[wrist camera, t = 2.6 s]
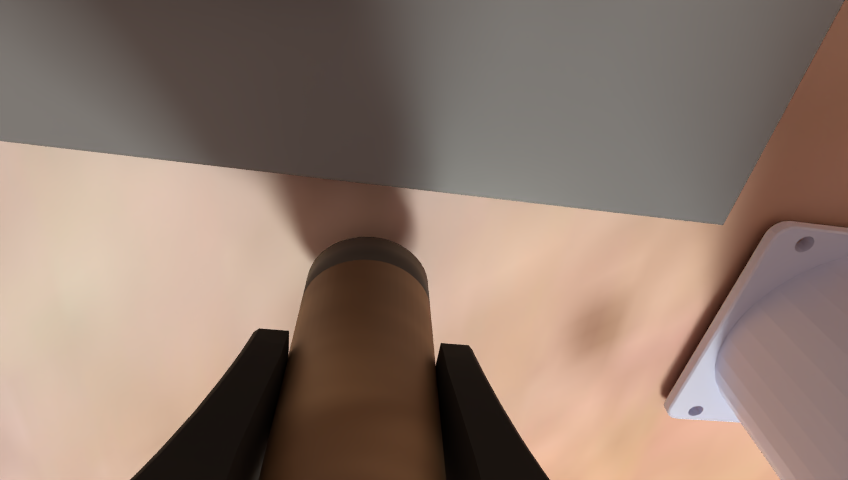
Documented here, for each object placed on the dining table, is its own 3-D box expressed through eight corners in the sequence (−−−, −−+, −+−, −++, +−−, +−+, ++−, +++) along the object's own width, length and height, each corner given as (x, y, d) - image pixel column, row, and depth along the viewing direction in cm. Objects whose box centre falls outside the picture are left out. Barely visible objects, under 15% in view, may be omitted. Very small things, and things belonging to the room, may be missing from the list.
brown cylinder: (437, 243, 13) (500, 713, 5) (418, 337, 15) (445, 795, 7) (309, 230, 12) (175, 716, 5) (304, 327, 14) (200, 803, 7)
